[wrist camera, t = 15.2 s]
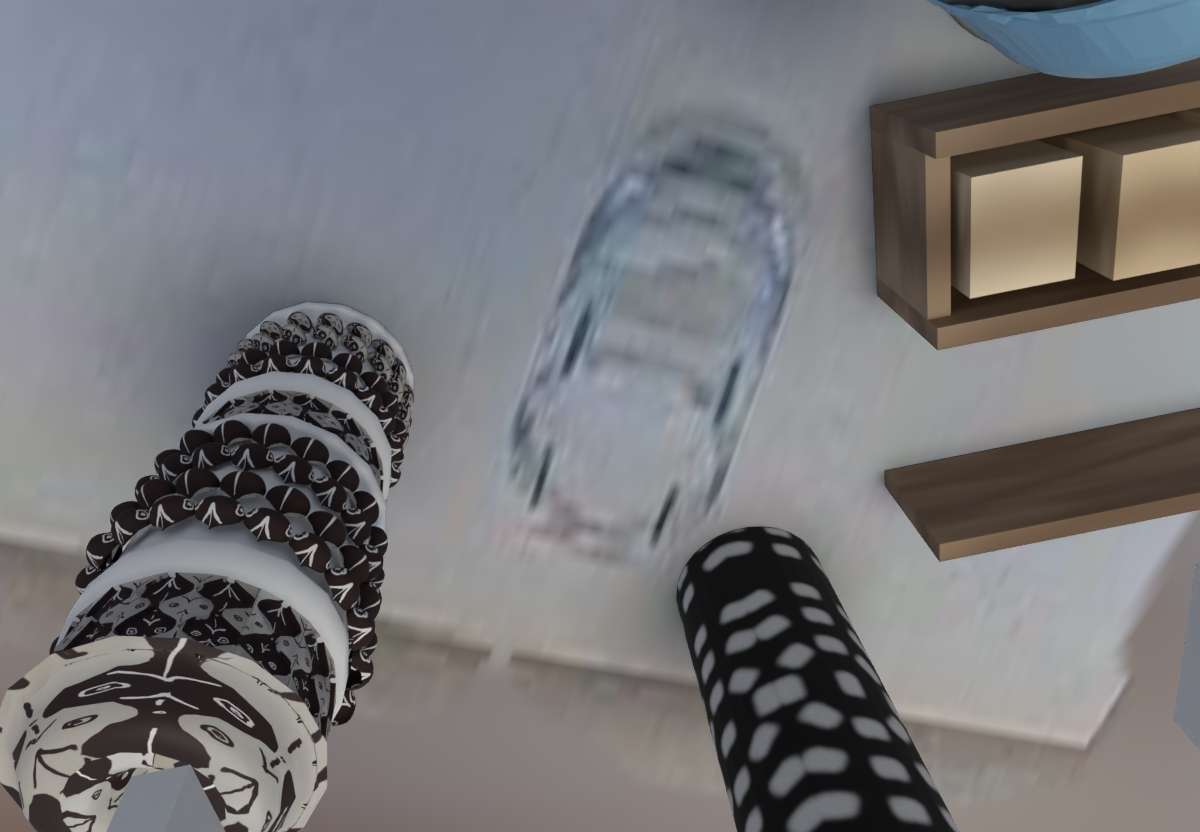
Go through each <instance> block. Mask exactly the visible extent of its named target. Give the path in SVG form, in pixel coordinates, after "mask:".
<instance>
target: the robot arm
mask: <svg viewBox="0 0 1200 832" xmlns="http://www.w3.org/2000/svg"><path fill="white" fill-rule="evenodd" d="M928 1H929V2H931V3H932V4H934V5H939V6H940V7H942V8H943V9H944V10H945V11H947V12H948V13H949V14H952V15H955V16H958V17H960V18H962V19H963V20H964V21H965V22H966V23H967V24H968V25H970V26H971V27H972V28H973V29H974V30H975V31H977V32H978V33H979V34H980V35H981V36H982V37H983V38H985V39H986V40H987V41H988V42H989V43H990V44H991V45H993V46H994V47H995V48H996V49H997V50H999V51H1000V52H1001V53H1002V54H1004V55H1005V56H1007V57H1008V58H1009V59H1011V60H1013V61H1015V62H1016V63H1020V64H1022V65H1024V66H1026V67H1029V68H1032V69H1034V70H1037V71H1039V72H1042V73H1045V74H1050V75H1055V76H1060V77H1069V78H1087V79H1088V78H1109V77H1119V76H1127V75H1133V74H1139V73H1144V72H1149V71H1153V70H1158V69H1162V68H1165V67H1169V66H1172V65H1175V64H1179V63H1182V62H1186V61H1189V60H1193V59H1196V58H1199V57H1200V0H928ZM1173 720H1174V722H1175V723H1176V724H1177V725H1178V726H1179V727H1180V728H1181V729H1182V731H1183V732H1184V733H1185V734H1186V735H1187V736H1188V737H1189V738H1190V740H1191V741H1192V742H1193V743H1194V744H1195V745H1196V747H1198V749H1199V750H1200V563H1196V566H1195V572H1194V579H1193V587H1192V593H1191V600H1190V607H1189V615H1188V621H1187V628H1186V635H1185V641H1184V649H1183V655H1182V663H1181V669H1180V677H1179V683H1178V690H1177V697H1176V705H1175V711H1174V718H1173ZM106 832H225V830H224V828H223V826H222V824H221V822H220V820H219V818H218V816H217V814H216V813H215V811H214V809H213V807H212V805H211V803H210V801H209V799H208V797H207V795H206V793H205V792H204V790H203V788H202V786H201V784H200V782H199V780H198V778H197V776H196V774H195V772H194V771H193V769H192V767H191V765H186V766H181V767H176V768H171V769H166V770H161V771H156V772H151V773H146V774H141V775H136V776H131V778H130V781H129V783H128V785H127V787H126V789H125V791H124V794H123V796H122V798H121V800H120V802H119V805H118V807H117V809H116V811H115V813H114V816H113V818H112V820H111V822H110V824H109V827H108V829H107V831H106Z"/></svg>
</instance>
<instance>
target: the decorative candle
mask: <svg viewBox="0 0 1200 832" xmlns="http://www.w3.org/2000/svg"><path fill="white" fill-rule="evenodd" d="M237 348H238V352H234V353H232V354H231V355H230V356H229V357H228V363H229V365H228V366H227V367H226V368H225V369H223V370H222V371H221V372H219V374H218V375H217V377H216V383H215V384H213V385H211V386H210V387H209V388H208V389H207V390H206V393H205V398H206V399H205V402H204V407H202V408H200V409H199V410H198V411H197V412H196V413H195V415H194V417H193V420H192V425H193V428H194V430H190V431H187V432H186V433H185V434H184V435H183V437H182V438H181V441H180V442H179V443H177V444H176V445H175V446H174V447H173V448H171V449H170V450H166V451H163V452H162V453H160V454H159V455H158V456H157V457H156V458H155V469H156V471H157V473H156V475H149V476H146V477H143V478H141V479H140V480H139V481H138V483H137V485H136V488H135V496H136V499H137V501H138V502H135V501H128V502H124V503H121V504H119V505H117V506H116V507H115V508H113V510H112V512H111V514H110V522H111V525H112V526H111V532H109V533H102V534H98V535H96V536H94V537H93V538H92V539H91V540H90V541H89V543H88V545H87V549H86V557H87V560H88V562H89V564H90V566H88V567H86V568H84V569H83V570H82V571H81V572H80V573H79V574H78V576H77V578H76V581H75V584H76V587H77V589H78V591H79V593H80V594H81V596H80V598H79V599H78V601H77V602H76V604H75V605H74V607H73V608H72V610H71V611H70V613H69V615H68V617H67V620H66V622H65V625H64V627H63V630H62V632H61V634H60V636H59V637H58V638H56V639H55V640H54V642H53V643H52V645H51V648H50V656H49V657H48V658H46V659H45V660H44V661H43V662H41V663H40V664H39V665H38V666H36V667H35V668H34V669H33V670H31V671H30V672H29V673H28V674H26V675H25V676H24V677H23V678H21V679H20V680H19V681H18V682H16V683H15V684H14V685H13V686H11V687H10V688H9V689H8V690H7V693H6V695H5V697H4V700H3V703H2V705H1V708H0V783H1V784H2V785H3V787H4V788H5V789H6V790H7V792H8V793H9V794H10V795H11V796H12V798H13V799H14V800H15V801H16V802H17V804H18V805H19V806H20V807H21V809H22V810H23V812H24V815H25V817H26V818H27V820H28V821H29V822H30V823H31V825H32V826H33V827H34V828H35V829H36V831H37V832H106V831H107V829H108V827H109V824H110V822H111V820H112V818H113V816H114V813H115V811H116V809H117V807H118V805H119V802H120V800H121V798H122V796H123V794H124V791H125V789H126V787H127V785H128V783H129V781H130V778H131V776H136V775H141V774H146V773H151V772H156V771H161V770H166V769H171V768H176V767H181V766H186V765H191V767H192V769H193V771H194V772H195V774H196V776H197V778H198V780H199V782H200V784H201V786H202V788H203V790H204V792H205V793H206V795H207V797H208V799H209V801H210V803H211V805H212V807H213V809H214V811H215V813H216V814H217V816H218V818H219V820H220V822H221V824H222V826H223V828H224V830H225V832H297V831H298V830H300V829H301V828H303V827H304V826H305V824H306V822H307V821H308V819H309V817H310V815H311V814H312V812H313V810H314V808H315V807H316V805H317V803H318V802H319V800H320V798H321V797H322V795H323V793H324V792H325V790H326V788H327V740H328V736H329V732H330V727H331V724H332V725H333V726H337V725H341V724H344V723H346V722H348V721H349V720H350V718H351V717H352V715H353V713H354V710H355V707H356V699H355V695H354V693H353V692H352V690H357V689H359V688H361V687H363V686H364V685H366V684H367V683H368V682H369V681H370V679H371V678H372V675H373V663H372V660H371V658H370V657H369V656H370V655H371V654H372V653H373V651H374V650H375V648H376V645H377V636H376V634H375V632H374V631H375V621H374V619H375V617H376V616H377V614H378V612H379V609H380V605H381V602H382V597H381V593H380V590H379V589H378V588H379V587H380V586H381V584H382V583H383V580H384V576H385V574H384V571H383V569H382V567H383V555H384V554H385V552H386V550H387V545H388V540H387V535H386V499H387V495H388V491H389V488H391V487H393V486H394V485H395V484H396V483H397V482H398V480H399V478H400V475H401V472H400V470H399V468H398V467H399V466H400V465H401V463H402V461H403V458H404V454H403V449H404V447H405V446H406V444H407V442H408V439H409V433H408V430H409V428H410V426H411V422H412V419H411V411H412V408H413V400H414V394H413V390H414V374H413V372H412V370H411V367H410V365H409V362H408V360H407V357H406V355H405V352H404V350H403V347H402V345H401V344H400V343H399V342H398V341H397V340H396V339H395V338H394V337H393V336H392V335H391V334H390V333H389V332H388V331H387V330H386V329H385V328H384V327H383V326H382V325H381V324H380V323H379V322H378V321H377V320H375V319H373V318H371V317H369V316H367V315H365V314H362V313H360V312H358V311H356V310H354V309H352V308H350V307H347V306H345V305H340V304H328V303H316V302H305V303H301V304H298V305H295V306H291V307H288V308H284V309H281V310H278V311H274V312H273V313H271V314H270V315H269V316H268V317H267V318H265V319H264V320H263V321H262V322H261V323H260V324H258V325H257V326H256V327H255V328H254V329H253V330H251V331H250V332H249V333H248V334H247V336H246V338H245V339H244V340H242V341H240V342H239V343H238V345H237ZM132 536H133V537H132ZM131 537H132V539H131V540H130V542H129V543H128V545H127V547H126V548H125V550H124V551H123V553H122V547H123V545H125V544H126V542H127V541H128V540H129V539H130V538H131ZM106 563H108V564H110V565H108V566H107V568H106ZM351 648H352V650H351V652H350V655H349V649H351Z"/></svg>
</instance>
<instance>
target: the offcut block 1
mask: <svg viewBox="0 0 1200 832" xmlns="http://www.w3.org/2000/svg"><path fill="white" fill-rule="evenodd" d="M1082 160H1083V156H1082V155H1079V154H1076V153H1073V152H1070V151H1067V150H1064V149H1061V148H1058V147H1055V146H1052V145H1049V144H1046V143H1043V142H1040V141H1037V140H1031V141H1026V142H1020V143H1015V144H1010V145H1005V146H1000V147H995V148H990V149H985V150H980V151H975V152H970V153H965V154H960V155H955V156H950V208H951V285H952V286H953V287H955V288H956V289H957V290H959V291H960V292H962V293H963V294H964V295H966V296H967V297H968V298H970V299H971V298H976V297H981V296H986V295H991V294H996V293H1001V292H1006V291H1011V290H1017V289H1022V288H1027V287H1032V286H1037V285H1042V284H1047V283H1052V282H1057V281H1063V280H1068V279H1073V278H1075V268H1076V253H1077V237H1078V222H1079V207H1080V191H1081V176H1082Z"/></svg>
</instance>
